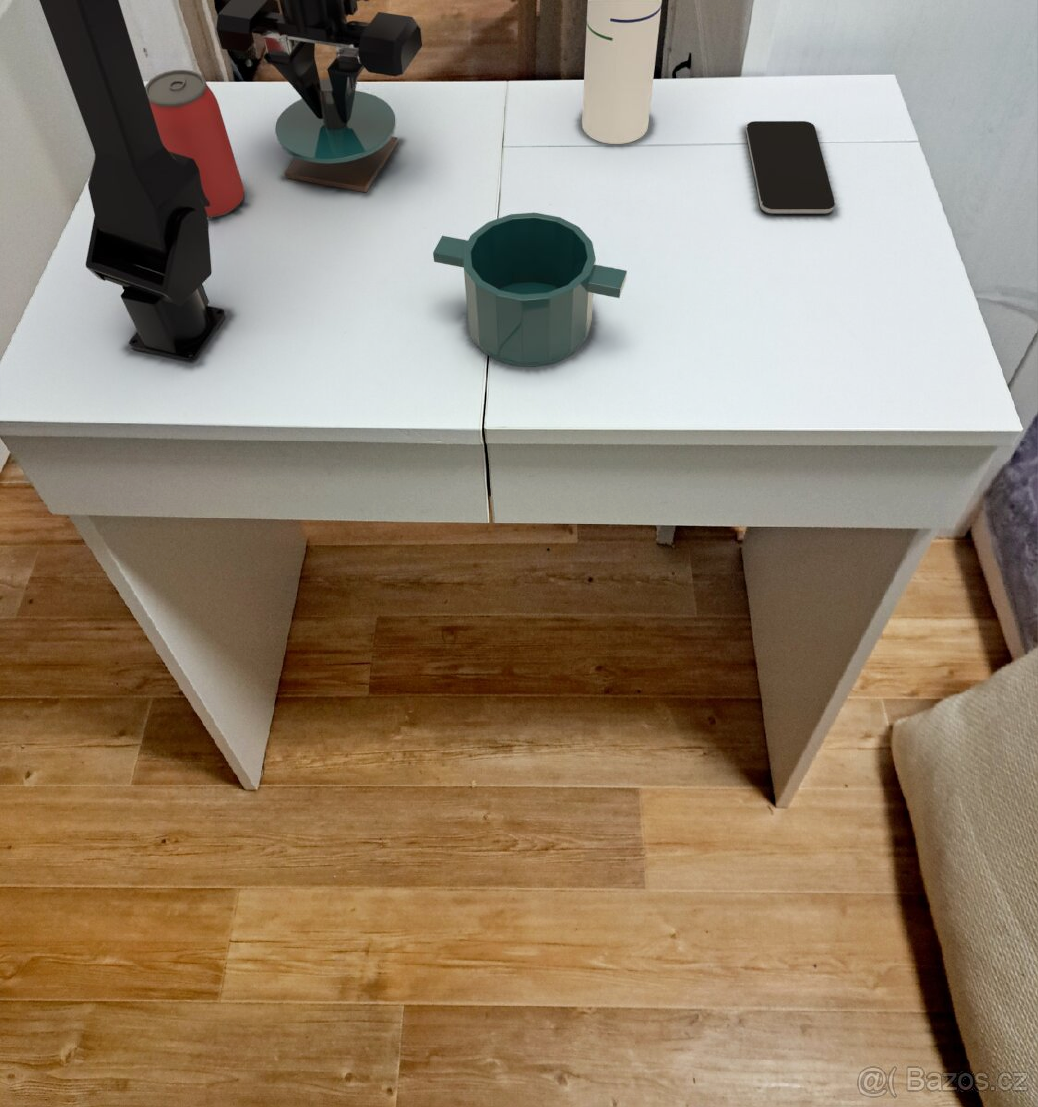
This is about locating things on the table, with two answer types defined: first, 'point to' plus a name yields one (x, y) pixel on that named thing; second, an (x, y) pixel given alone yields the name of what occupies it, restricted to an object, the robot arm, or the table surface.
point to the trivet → (343, 170)
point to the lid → (335, 128)
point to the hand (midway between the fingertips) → (334, 118)
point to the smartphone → (789, 167)
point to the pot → (529, 286)
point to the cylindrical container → (619, 68)
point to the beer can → (197, 134)
